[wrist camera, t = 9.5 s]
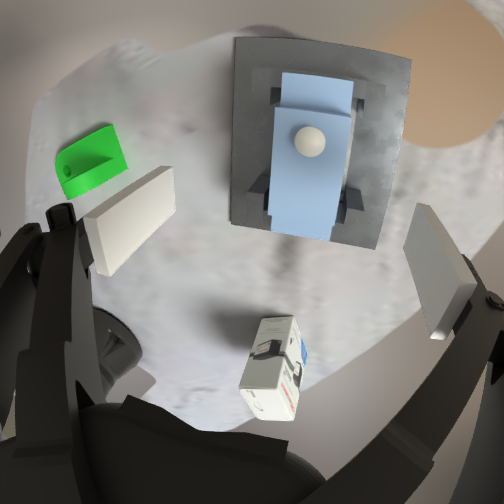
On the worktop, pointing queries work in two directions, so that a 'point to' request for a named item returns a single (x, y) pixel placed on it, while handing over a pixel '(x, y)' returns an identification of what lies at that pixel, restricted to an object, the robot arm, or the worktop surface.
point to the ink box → (274, 370)
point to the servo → (309, 154)
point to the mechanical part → (90, 162)
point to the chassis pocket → (360, 139)
